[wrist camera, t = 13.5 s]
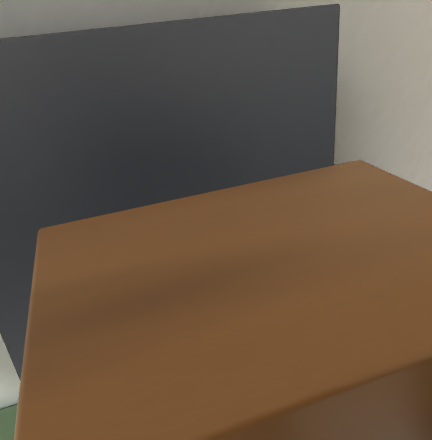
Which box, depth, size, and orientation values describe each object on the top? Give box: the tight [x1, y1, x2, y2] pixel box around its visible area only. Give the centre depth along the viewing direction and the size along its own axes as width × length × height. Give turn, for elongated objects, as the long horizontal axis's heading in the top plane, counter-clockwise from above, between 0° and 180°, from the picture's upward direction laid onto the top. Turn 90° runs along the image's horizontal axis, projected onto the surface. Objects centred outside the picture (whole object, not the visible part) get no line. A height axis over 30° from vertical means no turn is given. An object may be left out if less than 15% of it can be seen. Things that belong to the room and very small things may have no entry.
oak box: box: [14, 160, 432, 440], centre depth 7 cm, size 6×6×4 cm
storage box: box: [0, 4, 340, 381], centre depth 15 cm, size 12×12×4 cm
